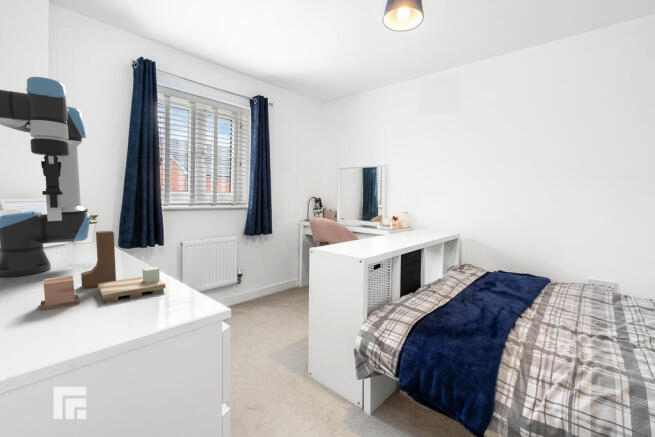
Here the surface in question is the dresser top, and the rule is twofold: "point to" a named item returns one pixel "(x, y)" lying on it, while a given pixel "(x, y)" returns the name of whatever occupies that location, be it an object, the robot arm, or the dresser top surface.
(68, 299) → the pink slab on base
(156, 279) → the pale green cube
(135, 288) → the wooden pallet
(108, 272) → the wooden block
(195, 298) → the dresser top surface
